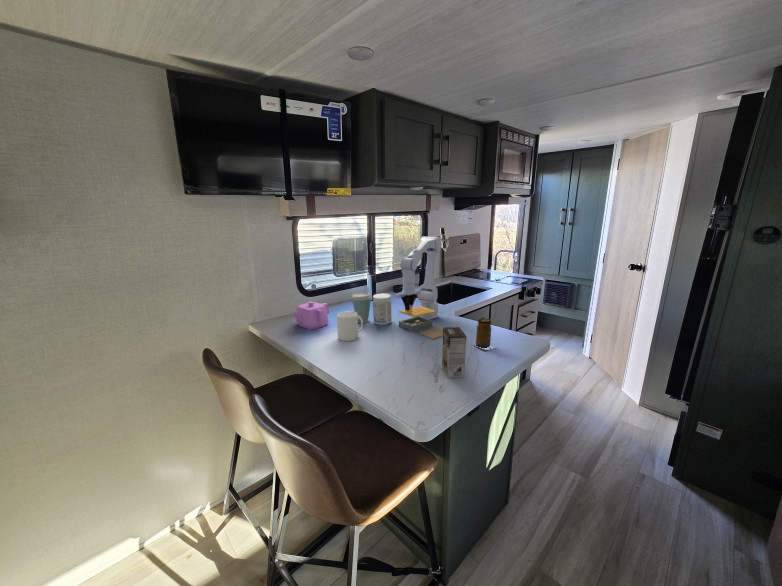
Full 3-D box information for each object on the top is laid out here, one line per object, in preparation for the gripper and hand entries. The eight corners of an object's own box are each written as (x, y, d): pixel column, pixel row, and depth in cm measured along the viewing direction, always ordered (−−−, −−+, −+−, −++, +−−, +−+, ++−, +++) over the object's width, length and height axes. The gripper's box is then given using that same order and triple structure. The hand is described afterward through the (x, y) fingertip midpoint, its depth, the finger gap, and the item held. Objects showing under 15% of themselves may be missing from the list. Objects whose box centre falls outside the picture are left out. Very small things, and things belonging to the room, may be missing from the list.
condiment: (483, 341, 150) (485, 316, 147) (497, 348, 142) (499, 322, 139) (471, 344, 147) (472, 318, 144) (484, 351, 139) (485, 325, 136)
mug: (334, 337, 156) (332, 313, 153) (355, 331, 163) (354, 308, 160) (345, 343, 149) (343, 319, 146) (366, 336, 156) (366, 313, 153)
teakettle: (325, 330, 165) (324, 306, 162) (291, 330, 165) (289, 307, 162) (331, 319, 182) (329, 297, 179) (300, 319, 181) (298, 297, 178)
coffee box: (441, 366, 127) (442, 326, 123) (457, 365, 127) (459, 326, 123) (447, 378, 118) (448, 336, 114) (464, 377, 118) (467, 335, 114)
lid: (421, 308, 176) (421, 298, 174) (436, 313, 167) (436, 303, 166) (399, 313, 167) (399, 302, 165) (413, 318, 158) (414, 307, 157)
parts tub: (418, 320, 178) (419, 315, 177) (432, 325, 170) (432, 320, 170) (398, 326, 170) (398, 321, 169) (411, 331, 162) (411, 326, 161)
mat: (439, 327, 167) (439, 326, 167) (453, 332, 160) (453, 331, 160) (419, 333, 159) (419, 332, 159) (432, 339, 152) (432, 338, 152)
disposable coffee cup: (350, 323, 174) (349, 296, 170) (354, 317, 184) (353, 291, 180) (370, 324, 172) (369, 296, 169) (373, 317, 183) (373, 291, 179)
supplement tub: (384, 318, 182) (383, 292, 178) (395, 322, 175) (395, 295, 171) (369, 321, 176) (369, 295, 172) (380, 326, 169) (379, 299, 165)
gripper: (414, 279, 166) (414, 305, 170) (391, 283, 158) (391, 310, 161) (424, 281, 161) (423, 308, 164) (401, 286, 152) (401, 314, 156)
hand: (408, 309), depth 162 cm, fingers closed on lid
